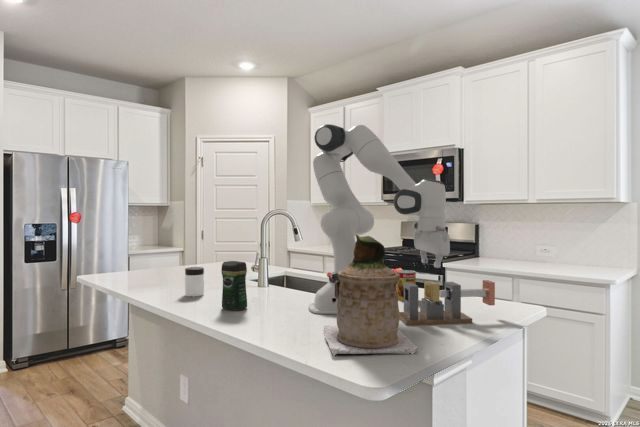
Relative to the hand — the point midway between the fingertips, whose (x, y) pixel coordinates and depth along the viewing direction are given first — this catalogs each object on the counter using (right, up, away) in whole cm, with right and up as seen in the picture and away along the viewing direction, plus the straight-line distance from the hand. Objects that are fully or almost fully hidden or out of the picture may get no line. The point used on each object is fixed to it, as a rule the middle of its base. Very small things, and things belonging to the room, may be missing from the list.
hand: (430, 265), depth 156 cm
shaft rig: (0, -19, 0) cm, 19 cm away
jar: (-95, -19, +45) cm, 107 cm away
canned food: (-2, -19, +33) cm, 38 cm away
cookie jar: (-25, -20, -25) cm, 40 cm away
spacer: (0, -12, 0) cm, 12 cm away
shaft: (+13, -14, +1) cm, 19 cm away
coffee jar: (-72, -19, +18) cm, 77 cm away
